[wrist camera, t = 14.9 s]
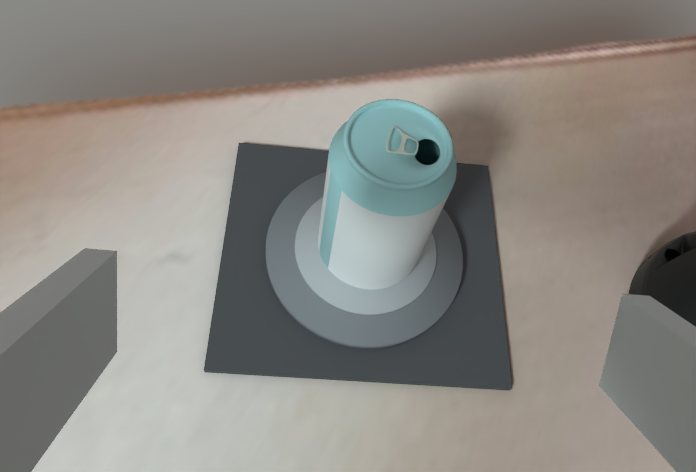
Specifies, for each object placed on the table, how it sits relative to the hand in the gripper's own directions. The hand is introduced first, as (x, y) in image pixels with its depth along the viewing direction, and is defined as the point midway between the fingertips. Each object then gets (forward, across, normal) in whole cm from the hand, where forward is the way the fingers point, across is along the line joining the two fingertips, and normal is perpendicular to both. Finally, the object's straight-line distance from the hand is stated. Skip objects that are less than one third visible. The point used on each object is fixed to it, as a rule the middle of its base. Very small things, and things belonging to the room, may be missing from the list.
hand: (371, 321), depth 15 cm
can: (+25, +3, -6) cm, 25 cm away
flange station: (+26, +2, -7) cm, 27 cm away
